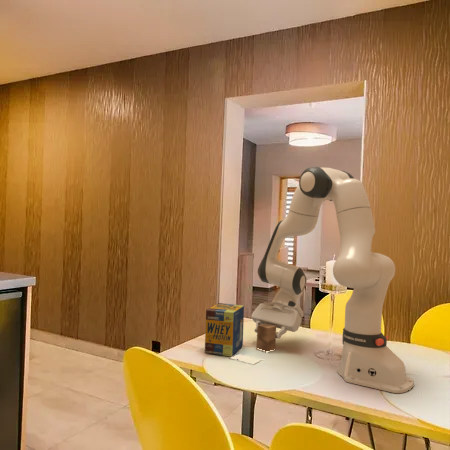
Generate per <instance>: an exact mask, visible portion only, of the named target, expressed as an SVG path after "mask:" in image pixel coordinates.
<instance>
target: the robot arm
mask: <svg viewBox="0 0 450 450" xmlns="http://www.w3.org/2000/svg"><path fill="white" fill-rule="evenodd" d="M298 179H299V181H298V185H297V187H296V188H295V190H294V193H293V195H292V198H291V201H290V204H289V209H288V213H287V215H286V216H285V217H284V219H283V220H279V222H278V223H277V224H276V226H275V228H274V231H273V232H272V235H271V237H270V240H269V242H268V245H267V247H266V249H265V250H266V251H265V253H264V255H263V257H262V259H261V262H260V264H259V265H258V268H257V275H258V277H259V279H260V280H261V282H263V283H266V284H269V285H273V286H277V287H279V290H278V291H277V292H276V293H275V295H274V297H273V299H272V301H271V302H266V301H264V302H261V303H259V305H258V306H257V307H256V308H255V309H254V311H253V312H252V313H251V319H252V321H253V322H254V323H255V326H256V327H255V328H254V332H255V333H256V334H257V326H258V325H262V324H269V325H274V326H276V329H280V330H279V331H276V334H275V337H276V339H279V340H280V339H281V337H282V336H283V335H285V334H286V333H287V331H288V332H292V333H295V332H297V331H298V330H299V328H300V326H301V323H302V321H303V320H302V318H303V317H304V315H305V314H304V311H303V309H302V308H301V306H300V305H299V304H298V300H299V299H300V298H301V297H302V295H303V293H304V290H305V288H306V284H307V280H308V277H307V275H306V273H305V271H304V270H303V269H302V267H298V266H296V265H294V264H290V263H286V262H285V261H280V260H278V254H279V251H280V248H281V246H282V244H283V242H284V240H285V239H287V238H289V237H299V236H305V235H308V234H309V233H311V232H313V230H315V228H316V226H317V223H318V220H319V217H320V216H319V215H320V210H321V206H322V205H323V203H324V202H325V201H330V202H333V204H334V209H335V214H336V219H337V225H338V226H337V227H338V231H339V251H338V252H339V253H338V256H337V259H336V260H335V262H334V264H333V267H332V273H333V277H334V279H335V281H336V282H337V284H339V285H341V286H343V287H345V288H349V289H352V293H351V296H350V298H349V299H348V300H347V302H346V303H345V311H344V327H343V329H342V339H341V340H342V351H341V358H340V362H339V365H338V368H337V374H338V375H339V376H340V377H342V378H343V380H344V381H345V382H347V383H350V384H355V385H359V386H362V387H363V386H364V387H368V388H372V389H374V390H375V389H376V390H380V391H384V392H389V393H393V394H402V393H406V392H409V391H411V388H412V387H413V388H414V386H415V383H414V380H413V379H412V378H411V377H408V376H407V371H406V370H407V369H406V365H405V363H404V360H402V359H401V358H400V357H399V356H398V355H397V354H395V352H393V350H392V349H390V348H389V347H388V346H387V344H388V340H389V335H386V336H385V335H384V334H383V333H382V317H383V316H382V315H383V309H384V308H383V307H384V303H385V298H386V296H387V295H386V294H387V292H388V288H389V286H390V283H391V281H392V279H394V278H395V275H396V265H395V263H394V261H393V260H392V259H391V258H390V256H388V255H385V254H382V253H379V252H372V246H373V245H372V243H373V237H374V236H375V234H376V227H375V222H374V215H373V213H372V212H373V211H372V208H371V203H370V199H369V197H368V196H369V195H368V193H367V190H366V188H365V186H364V183H363V182H362V181H360V180H359V179H358V178H355V177H354V176H353V175H352V174H351V173H349V172H347V171H345V170H340V169H335V168H332V167H320V166H312V167H308V168H306V169H304V170H303V171H302V172H301V174H300V176H299V178H298ZM413 385H414V386H413ZM413 388H412V389H413ZM408 390H409V391H408Z"/></svg>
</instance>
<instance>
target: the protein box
mask: <svg viewBox="0 0 450 450" xmlns="http://www.w3.org/2000/svg"><path fill="white" fill-rule="evenodd" d="M244 309H245V305H241V304H233V303H232V304H231V303H223V302H219V303H217V304H214V305H213V306H211V307H209V308H208V309H206V310H205V333H204V337H205V338H204V354H208V355H215V356H216V355H219V356H225V357H232V356H234V355H236V354H237V352H238V351H239V350H240V349H241V348H242V347H243V346H244V343H243V342H244V320H245V318H244V316H245V315H244V313H245V310H244Z"/></svg>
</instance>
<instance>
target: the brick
mask: <svg viewBox="0 0 450 450" xmlns="http://www.w3.org/2000/svg"><path fill="white" fill-rule="evenodd" d="M276 332H277V328H276V326H274V325H269V324H262V325H258V326H257V333H256V349H257V348H259V349H262V350H265V351H270V350H274V349H275V350H276V342H277V341H276V339H277V338H276V337H275V334H276ZM275 350H274V351H275Z"/></svg>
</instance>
